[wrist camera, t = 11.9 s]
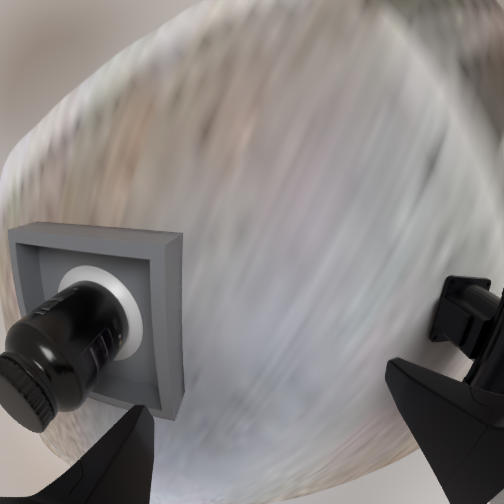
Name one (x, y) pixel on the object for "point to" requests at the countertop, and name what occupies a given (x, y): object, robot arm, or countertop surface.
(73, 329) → the supplement bottle
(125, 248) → the housing
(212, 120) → the countertop surface
